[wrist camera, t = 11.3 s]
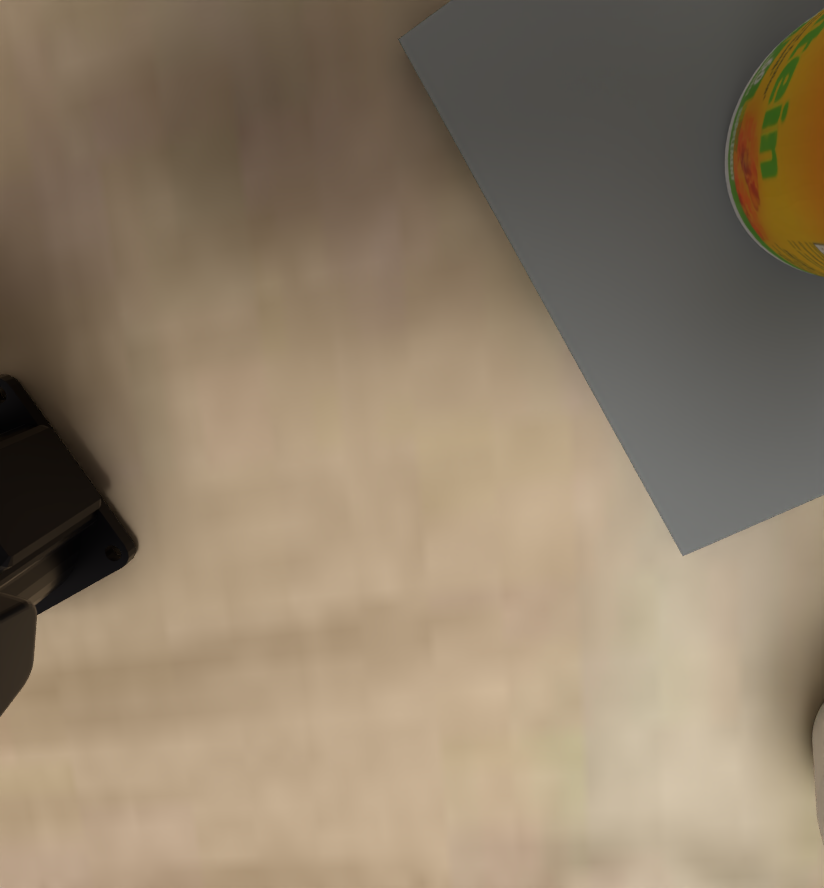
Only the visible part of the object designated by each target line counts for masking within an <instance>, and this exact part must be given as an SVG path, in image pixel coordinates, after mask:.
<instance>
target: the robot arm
mask: <svg viewBox="0 0 824 888" xmlns="http://www.w3.org/2000/svg"><path fill="white" fill-rule="evenodd" d="M0 387H1V388H2V389H3V390H4V391H5V393H6V399H5V398H3V397H2V396H1V393H0V717H1V715H2V714H3V713H4V711H5V710H6V709H7V707H8V706H9V705H10V703H11V702H12V701H13V699H14V698H15V697H16V695H17V694H18V693H19V692H20V690H21V689H22V687H23V686H24V685H25V683H26V681H27V679H28V678H29V675H30V673H31V670H32V667H33V661H34V649H35V635H36V622H37V615H38V614H40V613H42V612H44V611H45V610H47V609H49V608H51V607H52V606H54V605H56V604H58V603H60V602H61V601H63V600H65V599H67V598H69V597H70V596H72V595H74V594H76V593H77V592H79V591H81V590H83V589H85V588H86V587H88V586H90V585H92V584H94V583H95V582H97V581H99V580H101V579H102V578H104V577H106V576H108V575H110V574H111V573H113V572H115V571H117V570H119V569H120V568H122V567H124V566H125V565H126V564H127V563H128V562H129V561H131V560H132V559H133V558H134V556H135V553H136V548H135V545H134V543H133V540H132V539H131V538H130V536H129V535H128V534H127V532H126V531H125V529H124V528H123V527H122V525H121V524H120V522H119V521H118V520H117V518H116V517H115V515H114V514H113V513H112V511H111V510H110V508H109V507H108V506H107V504H106V503H105V501H104V500H103V499H102V497H101V496H100V494H99V493H98V492H97V490H96V489H95V487H94V486H93V485H92V483H91V482H90V480H89V479H88V478H87V476H86V475H85V473H84V472H83V471H82V469H81V468H80V466H79V465H78V464H77V462H76V461H75V460H74V458H73V457H72V455H71V454H70V453H69V451H68V450H67V448H66V447H65V446H64V444H63V443H62V441H61V440H60V439H59V437H58V436H57V434H56V433H55V432H54V430H53V429H52V427H51V426H50V425H49V423H48V422H47V420H46V419H45V418H44V416H43V415H42V413H41V412H40V411H39V409H38V408H37V406H36V405H35V404H34V402H33V401H32V399H31V398H30V397H29V395H28V394H27V392H26V391H25V390H24V388H23V387H22V385H21V384H20V383H19V382H18V381H17V380H16V379H15V378H14V377H12V376H10V375H3V374H2V375H0ZM112 546H116V547H117V548H118V549H119V550H120V552H121V555H119V554H117V553H116V552H114V550H113V548H112Z"/></svg>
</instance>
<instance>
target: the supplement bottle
mask: <svg viewBox="0 0 824 888" xmlns="http://www.w3.org/2000/svg"><path fill="white" fill-rule="evenodd" d="M725 177H726V184H727V189H728V194H729V197H730V200H731V203H732V206H733V208H734V211H735V213H736V215H737V217H738V219H739V221H740V222H741V224H742V226H743V227H744V229H745V230H746V231H747V233H748V234H749V235H750V236H751V238H752V239H753V240H754V241H755V242H756V243H757V244H758V245H759V246H760V247H761V248H763V249H764V250H765V251H766V252H768V253H769V254H770V255H772V256H773V257H775V258H776V259H778V260H780V261H781V262H783V263H785V264H787V265H789V266H791V267H793V268H796V269H798V270H801V271H804V272H807V273H810V274H814V275H817V276H821V277H824V8H823V9H822V10H821V11H819V12H818V13H817V14H815V15H814V16H813V17H811V18H810V19H808V20H807V21H806V22H804V23H803V24H802V25H800V26H799V27H798V28H797V29H795V30H794V31H793V32H792V33H791V34H789V35H788V36H787V37H786V38H785V39H784V40H783V41H782V42H781V43H780V44H779V45H778V46H776V47H775V48H774V49H773V51H772V52H771V53H770V54H769V55H768V56H767V57H766V58H765V60H764V61H763V62H762V63H761V65H760V66H759V67H758V69H757V70H756V71H755V73H754V74H753V76H752V77H751V79H750V80H749V82H748V84H747V85H746V87H745V89H744V91H743V93H742V95H741V97H740V99H739V101H738V103H737V106H736V108H735V110H734V113H733V116H732V119H731V123H730V126H729V130H728V135H727V141H726V147H725Z"/></svg>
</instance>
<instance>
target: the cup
mask: <svg viewBox="0 0 824 888" xmlns="http://www.w3.org/2000/svg"><path fill="white" fill-rule="evenodd" d="M812 746H813V761H814V777H815V793H816V809H817V819H818V824H819V829H820V833H821V836H822V840H823V844H824V703H823V704H822V706H821V708H820V709H819V711H818V714H817V716H816V719H815V722H814V726H813V732H812Z"/></svg>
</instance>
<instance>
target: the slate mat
mask: <svg viewBox="0 0 824 888" xmlns="http://www.w3.org/2000/svg"><path fill="white" fill-rule="evenodd" d="M823 8H824V0H451V1H450V2H448V3H447V4H446V5H444V6H443V7H441V8H440V9H439V10H437V11H436V12H435V13H433V14H432V15H431V16H429V17H428V18H426V19H425V20H424V21H422V22H421V23H420V24H418V25H417V26H416V27H414V28H413V29H412V30H410V31H409V32H407V33H406V34H405V35H403V36H402V37H401V38H399V39H398V40H399V42H400V43H401V45H402V47H403V49H404V51H405V53H406V54H407V56H408V58H409V60H410V62H411V63H412V65H413V67H414V69H415V71H416V73H417V74H418V76H419V78H420V80H421V82H422V83H423V85H424V87H425V89H426V91H427V92H428V94H429V96H430V98H431V100H432V102H433V103H434V105H435V107H436V109H437V111H438V112H439V114H440V116H441V118H442V120H443V122H444V123H445V125H446V127H447V129H448V131H449V132H450V134H451V136H452V138H453V140H454V142H455V143H456V145H457V147H458V149H459V151H460V152H461V154H462V156H463V158H464V160H465V162H466V163H467V165H468V167H469V169H470V171H471V172H472V174H473V176H474V178H475V180H476V181H477V183H478V185H479V187H480V189H481V191H482V192H483V194H484V196H485V198H486V200H487V201H488V203H489V205H490V207H491V209H492V211H493V212H494V214H495V216H496V218H497V220H498V221H499V223H500V225H501V227H502V229H503V231H504V232H505V234H506V236H507V238H508V240H509V241H510V243H511V245H512V247H513V249H514V250H515V252H516V254H517V256H518V258H519V260H520V261H521V263H522V265H523V267H524V269H525V270H526V272H527V274H528V276H529V278H530V280H531V281H532V283H533V285H534V287H535V289H536V290H537V292H538V294H539V296H540V298H541V300H542V301H543V303H544V305H545V307H546V309H547V310H548V312H549V314H550V316H551V318H552V319H553V321H554V323H555V325H556V327H557V329H558V330H559V332H560V334H561V336H562V338H563V339H564V341H565V343H566V345H567V347H568V349H569V350H570V352H571V354H572V356H573V358H574V359H575V361H576V363H577V365H578V367H579V369H580V370H581V372H582V374H583V376H584V378H585V379H586V381H587V383H588V385H589V387H590V388H591V390H592V392H593V394H594V396H595V398H596V399H597V401H598V403H599V405H600V407H601V408H602V410H603V412H604V414H605V416H606V418H607V419H608V421H609V423H610V425H611V427H612V428H613V430H614V432H615V434H616V436H617V438H618V439H619V441H620V443H621V445H622V447H623V448H624V450H625V452H626V454H627V456H628V457H629V459H630V461H631V463H632V465H633V467H634V468H635V470H636V472H637V474H638V476H639V477H640V479H641V481H642V483H643V485H644V487H645V488H646V490H647V492H648V494H649V496H650V497H651V499H652V501H653V503H654V505H655V507H656V508H657V510H658V512H659V514H660V516H661V517H662V519H663V521H664V523H665V525H666V526H667V528H668V530H669V532H670V534H671V536H672V537H673V539H674V541H675V543H676V545H677V546H678V548H679V550H680V552H681V554H682V556H684V555H687V554H689V553H691V552H694V551H696V550H698V549H700V548H703V547H705V546H707V545H710V544H712V543H714V542H717V541H719V540H721V539H723V538H726V537H728V536H730V535H733V534H735V533H737V532H740V531H742V530H744V529H746V528H749V527H751V526H753V525H756V524H758V523H760V522H763V521H765V520H767V519H769V518H772V517H774V516H776V515H779V514H781V513H783V512H786V511H788V510H790V509H792V508H795V507H797V506H799V505H802V504H804V503H806V502H809V501H811V500H813V499H815V498H818V497H820V496H822V495H824V277H821V276H817V275H814V274H810V273H807V272H804V271H801V270H798V269H796V268H793V267H791V266H789V265H787V264H785V263H783V262H781V261H780V260H778V259H776V258H775V257H773V256H772V255H770V254H769V253H768V252H766V251H765V250H764V249H763V248H761V247H760V246H759V245H758V244H757V243H756V242H755V241H754V240H753V239H752V238H751V236H750V235H749V234H748V233H747V231H746V230H745V229H744V227H743V226H742V224H741V222H740V221H739V219H738V217H737V215H736V213H735V211H734V208H733V206H732V203H731V200H730V197H729V194H728V189H727V184H726V177H725V147H726V141H727V135H728V130H729V126H730V123H731V119H732V116H733V113H734V110H735V108H736V106H737V103H738V101H739V99H740V97H741V95H742V93H743V91H744V89H745V87H746V85H747V84H748V82H749V80H750V79H751V77H752V76H753V74H754V73H755V71H756V70H757V69H758V67H759V66H760V65H761V63H762V62H763V61H764V60H765V58H766V57H767V56H768V55H769V54H770V53H771V52H772V51H773V49H774V48H775V47H776V46H778V45H779V44H780V43H781V42H782V41H783V40H784V39H785V38H786V37H787V36H788V35H789V34H791V33H792V32H793V31H794V30H795V29H797V28H798V27H799V26H800V25H802V24H803V23H804V22H806V21H807V20H808V19H810V18H811V17H813V16H814V15H815V14H817V13H818V12H819V11H821V10H822V9H823Z"/></svg>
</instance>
